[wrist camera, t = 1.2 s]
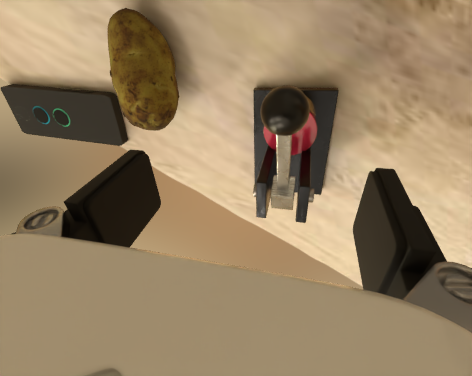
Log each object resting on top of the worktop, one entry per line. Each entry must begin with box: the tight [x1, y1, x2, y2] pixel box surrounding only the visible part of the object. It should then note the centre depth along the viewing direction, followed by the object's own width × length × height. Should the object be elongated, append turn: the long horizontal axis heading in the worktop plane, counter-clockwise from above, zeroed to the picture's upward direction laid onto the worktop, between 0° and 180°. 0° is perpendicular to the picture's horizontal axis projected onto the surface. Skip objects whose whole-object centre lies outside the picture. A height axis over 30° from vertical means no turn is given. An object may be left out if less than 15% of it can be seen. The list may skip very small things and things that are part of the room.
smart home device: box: [1, 84, 128, 146], centre depth 41 cm, size 8×2×20 cm
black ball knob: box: [261, 86, 310, 210], centre depth 21 cm, size 14×3×3 cm, turn 3°
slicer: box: [253, 88, 338, 223], centre depth 30 cm, size 15×10×14 cm, turn 3°
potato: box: [108, 8, 179, 130], centre depth 31 cm, size 8×13×8 cm, turn 177°
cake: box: [264, 97, 317, 155], centre depth 30 cm, size 6×6×5 cm
